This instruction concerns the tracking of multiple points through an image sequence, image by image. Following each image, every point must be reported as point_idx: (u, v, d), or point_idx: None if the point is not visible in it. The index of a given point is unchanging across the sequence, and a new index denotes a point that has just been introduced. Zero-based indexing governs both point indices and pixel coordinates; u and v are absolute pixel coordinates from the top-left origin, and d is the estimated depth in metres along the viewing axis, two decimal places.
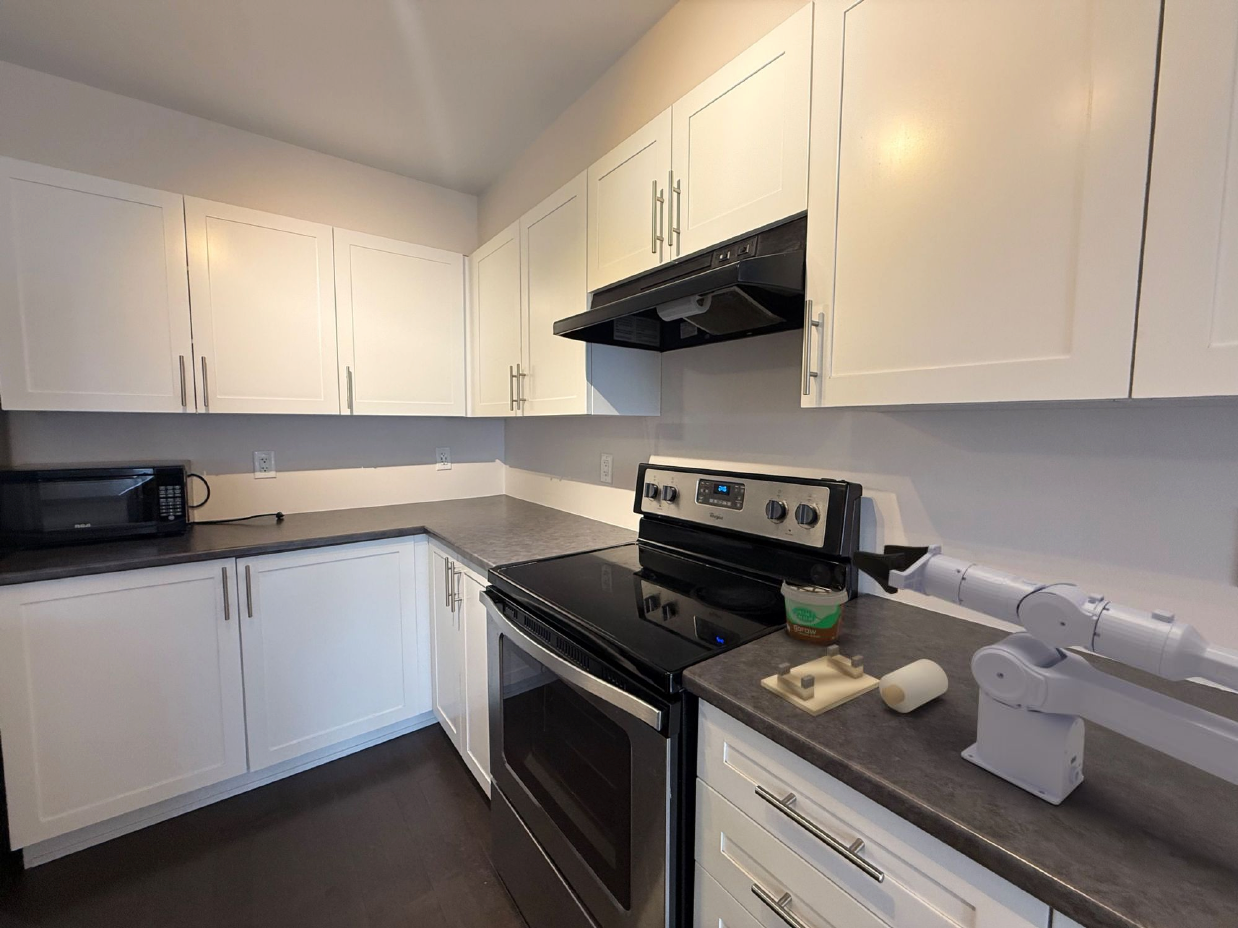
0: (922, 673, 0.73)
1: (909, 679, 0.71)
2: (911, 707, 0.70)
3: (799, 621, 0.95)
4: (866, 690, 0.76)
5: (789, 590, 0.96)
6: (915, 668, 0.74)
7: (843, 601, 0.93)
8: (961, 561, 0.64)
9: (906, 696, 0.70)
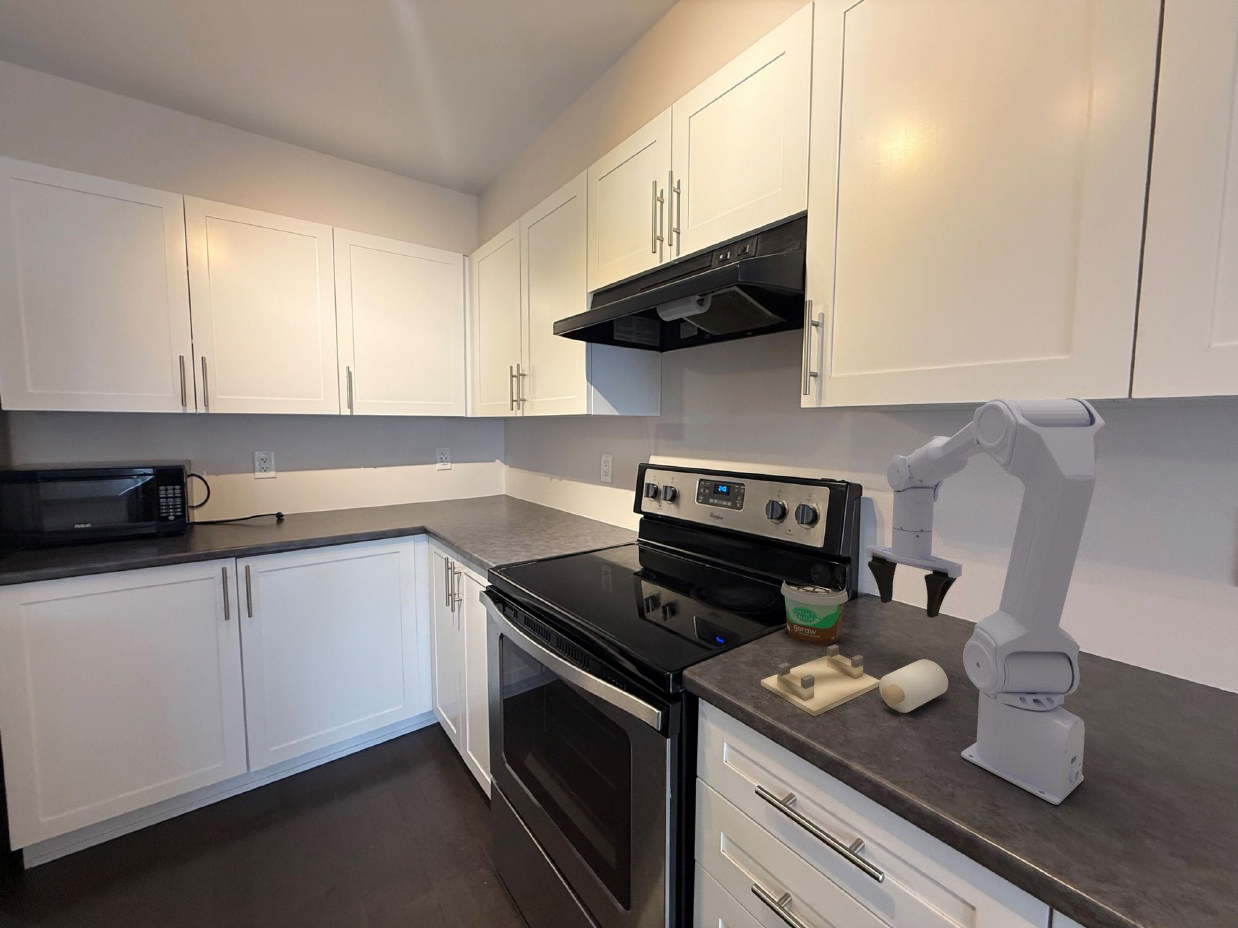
0: (922, 673, 0.73)
1: (909, 679, 0.71)
2: (911, 707, 0.70)
3: (799, 621, 0.95)
4: (866, 690, 0.76)
5: (789, 590, 0.96)
6: (915, 668, 0.74)
7: (843, 601, 0.93)
8: None
9: (906, 696, 0.70)
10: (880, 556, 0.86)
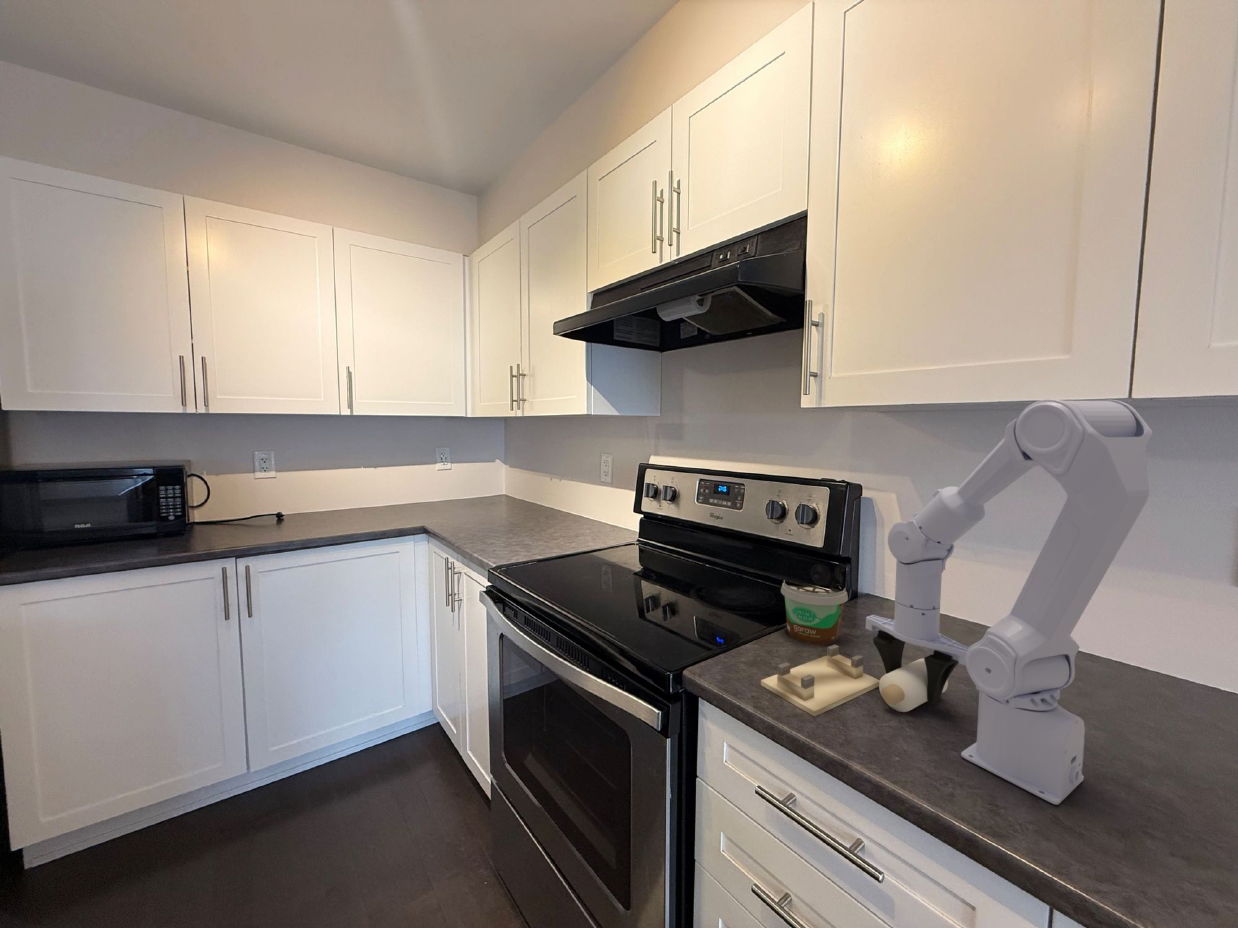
0: (922, 672, 0.73)
1: (909, 678, 0.71)
2: (911, 706, 0.70)
3: (799, 621, 0.95)
4: (866, 690, 0.76)
5: (789, 590, 0.96)
6: (915, 667, 0.74)
7: (843, 601, 0.93)
8: None
9: (906, 695, 0.70)
10: (881, 629, 0.77)
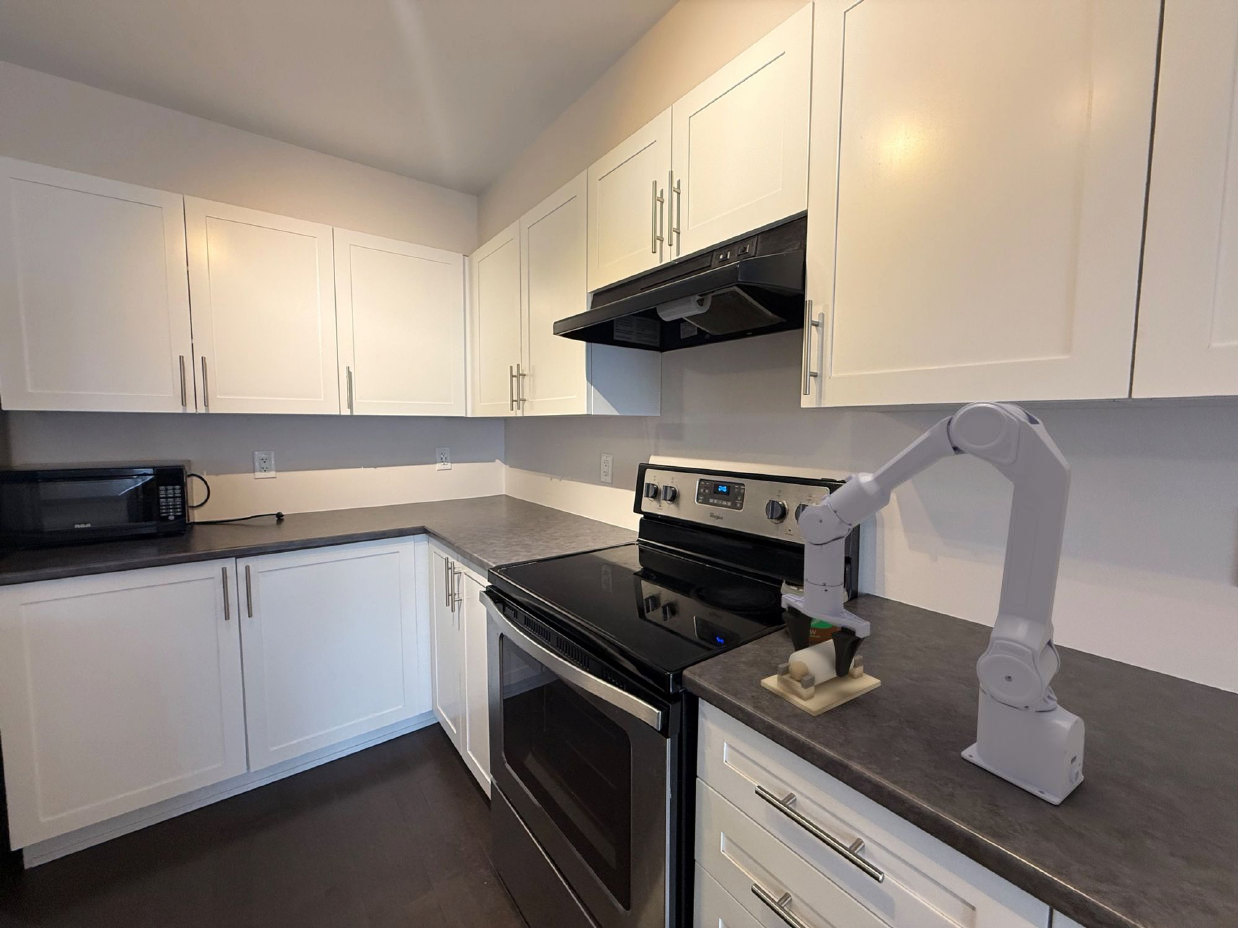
0: (828, 651, 0.77)
1: (813, 656, 0.75)
2: (814, 682, 0.74)
3: None
4: (866, 690, 0.76)
5: (789, 590, 0.96)
6: (823, 646, 0.78)
7: (843, 601, 0.93)
8: None
9: (810, 672, 0.75)
10: (795, 607, 0.82)
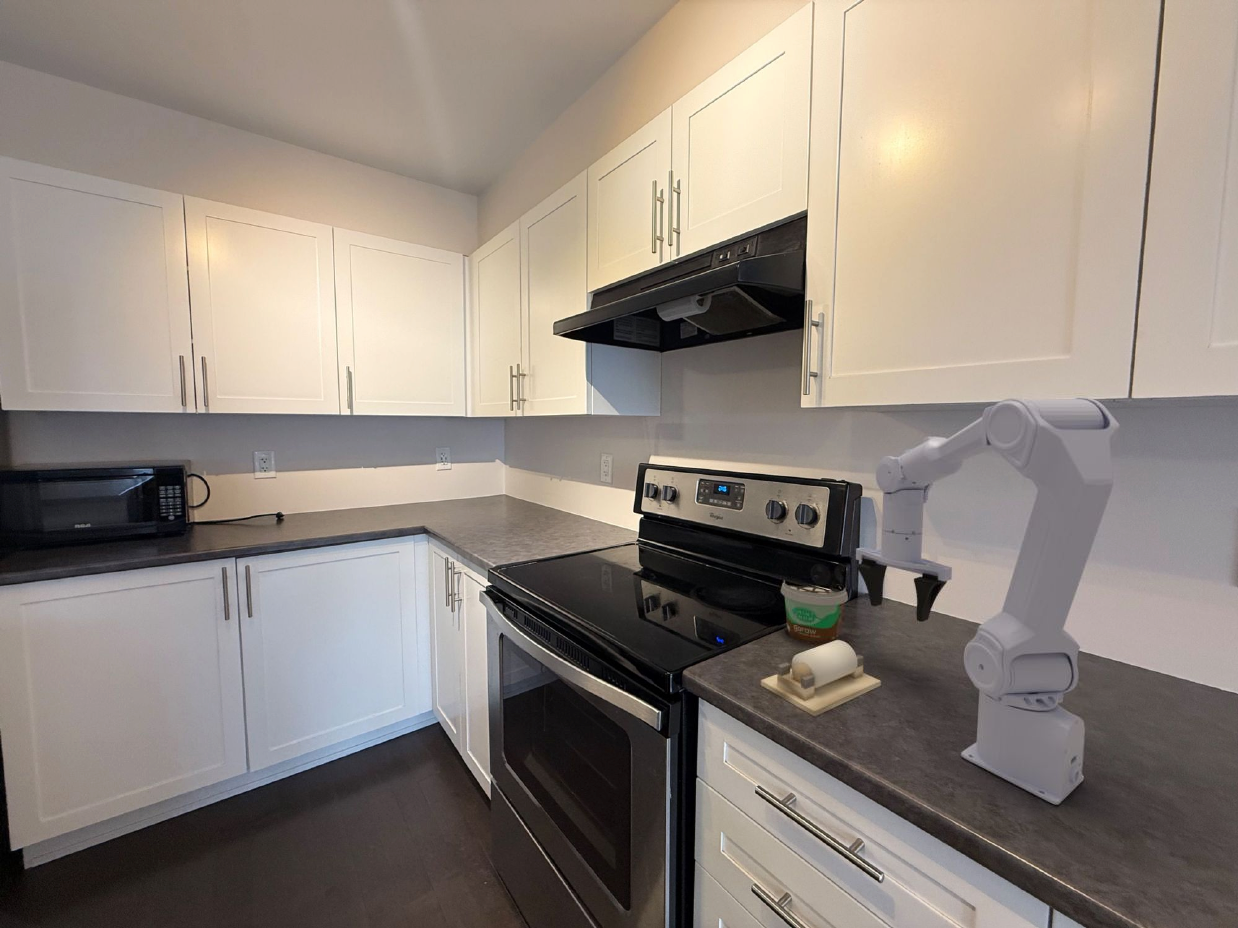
0: (836, 660, 0.76)
1: (822, 665, 0.74)
2: None
3: (799, 621, 0.95)
4: (866, 690, 0.76)
5: (789, 590, 0.96)
6: (833, 653, 0.76)
7: (843, 601, 0.93)
8: None
9: None
10: (870, 559, 0.85)
